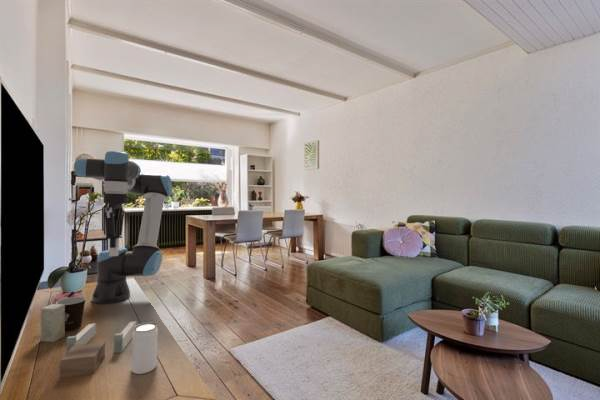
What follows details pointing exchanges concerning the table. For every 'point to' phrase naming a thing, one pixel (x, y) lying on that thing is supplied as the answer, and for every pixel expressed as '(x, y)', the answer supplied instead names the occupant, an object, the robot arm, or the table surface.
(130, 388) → the table surface
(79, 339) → the chute
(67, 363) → the block
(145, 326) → the can
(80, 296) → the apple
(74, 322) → the coffee mug
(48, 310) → the box
